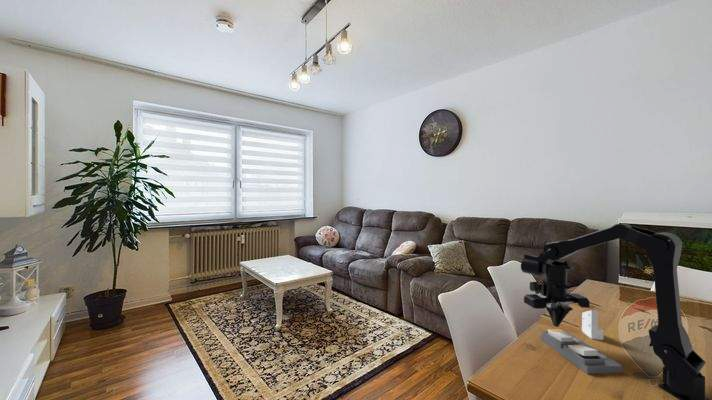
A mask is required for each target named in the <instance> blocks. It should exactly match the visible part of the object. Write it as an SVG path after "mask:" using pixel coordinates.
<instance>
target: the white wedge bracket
mask: <svg viewBox="0 0 712 400" xmlns="http://www.w3.org/2000/svg"><path fill="white" fill-rule="evenodd" d="M598 311H599V310H596V309H591V310H587V311H583V312H582V313H581V332H582V333H583V334H584V335H586V336H587V337H588V338H590V339H591V340H599V341H603V340H604V338H605V337H604V333H605V331H604V330H603V329H602V328H600V327H599V326H598V321H599V319H598V318H599V317H598V316H599V312H598Z"/></svg>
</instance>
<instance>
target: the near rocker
mask: <svg viewBox="0 0 712 400" xmlns="http://www.w3.org/2000/svg"><path fill="white" fill-rule="evenodd" d="M568 348H569V349H571V350H572V351H574V352H575V353H578V354H581V355H583V356H598V352H597V351H598V349H596V348H594V349H592V348H589V347H586V346H583V345H568ZM595 349H596V350H595Z"/></svg>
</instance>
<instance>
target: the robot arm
mask: <svg viewBox="0 0 712 400" xmlns="http://www.w3.org/2000/svg"><path fill="white" fill-rule="evenodd" d="M619 239H620V240H624V241H626V242H628V243H630V244H632V245H633V246H634V245H635V247H636V246H637V247H639V248H642V249H644V251H645V254H646V257H647V259H648V261H649V263H650V265H651V267H652V270H653V277H654V278H653V279H654V288H655V302H656V310H657V311H656V312H657V321H658V322H657V324H654V325H653V326H652V327H650V328H649V329H648V335H649V338H650V341H649V344H648V346H649V347H652V351H653V353H654V354H655V355H656V356H657V357H658V358H659V359H660V360H661V363H662V364H663V367H662V383H658V384H657V386H658V387H659V388H661V389H663V390H664V391H666V392H667V393H670V395H672V396H674V397H676V398H677V399H678V400H711V398H709V397H707V396H706V376H704V375H703V374H702V373H701V371H702V369H703V368H704V366H705V365H706V364H707V362H706V360H704V358H702V357H701V356H700V355H699V354H698V353H697V352H696V351H695V350H694V349H693V346H692V342H691V340H690V336H689V333H688V332H687V331H686V329H685V327H684V325H683V321H682V319H683V318H682V308H681V299H680V290H679V289H680V288H679V279H678V278H679V277H678V265H679V263H680V259H681V255H682V249H683V242H682V239H681V238H680V237H678V235H676V234H674V233H671V232H665V231H664V232H656V231H652V230H650V229H646V228H641V227H638V226H634V225H631V224H628V223H627V222H625V223H623V222H622V223H617V224H613V225H612V226H609V227H607V228H603V229H600V230H597V231H594V232H590V233H588V234H584V235H581V236H578V237H575V238H571V239H563V240H556V241H553V242H547V243H545V244H544V246H543V251H542V252H541V253H539V255H533V254H530V253H526V254H524V257H523V259H522V261H521V264H520V270H521V272H522V273H524V274H529V275H533V276H537V277H543V275H545V279H543V281H542V283H541V284H539V282H538V281H530V282H529V290H530V291H531V292H534V293H535V294H525V295H524V297H523V303H525V304H526V305H528V306H529V307H531V308H532V309H536V310H537V309H538V310H540V309H541V310H542V309H546V310H547V312H548V315H549V317H550V319H551V320H550V321H551V322H552V325H553V326H554V327H555V328H558V327H560V325H561V324H562V321H564V319H565V317H566V316H567V315H568V314H569V313H570V312H571V311H573V310H574V308H572V307H571V306H570V304H577V305H578V306H579V307H580V308H584V309H585V308H590V307H591V305H590V303H591V302H590V300H589V298H588V297H586V296H584V295H581V294H579V293H577V292H576V293H574V292H573V293H567V292H568V289H571V285H570V284H568V270H572V269H575V268H576V266H575V264H573V263H572V262H571V261H570V260H569V259H568V260H565V261H559V260H563V259H565V258H568V257H571V256H573V255H575V254H576V253H577V252H579V251H581V250H584V249H588V248H591V247H596V246H598V245H601V244H605V243H609V242H611V241H616V240H619ZM550 261H551V262H550ZM539 294H541V296H543V297H541V296H540V295H539Z"/></svg>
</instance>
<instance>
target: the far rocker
mask: <svg viewBox="0 0 712 400" xmlns="http://www.w3.org/2000/svg"><path fill="white" fill-rule="evenodd" d="M547 331H548V334H549V335H551V336H552V337H554V338H555V339H557V340H559V341H560V342H574V340H573V337H572V336H570V335H569V334H567V333H568V332H565V331H563V330H562V329H560V328H557V329H555V328H554V329H552V328H551V329H547Z"/></svg>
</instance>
